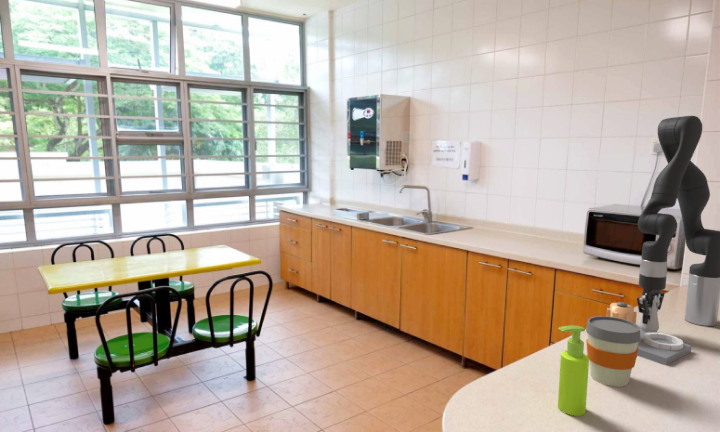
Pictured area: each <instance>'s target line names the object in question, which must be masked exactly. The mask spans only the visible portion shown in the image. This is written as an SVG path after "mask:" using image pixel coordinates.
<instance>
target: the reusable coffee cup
mask: <svg viewBox="0 0 720 432" xmlns="http://www.w3.org/2000/svg"><path fill="white" fill-rule="evenodd" d="M585 332H586V333H587V338H586V340H585V342H586V353H587V354H586V355H587V356H588V357H589V371H590V373H589V374H590V377H591V379H593V380H594V381H596V382H598V383H599V384H602V385H605V384H606V386H610V387H616V388H617V387H619V388H620V387H626V386H627V385H629V382H630V379H631V374H632V370H633V368H635V365H636V363H637V362H636V361H637V358H638V355H637V354H638V348H637V346H638V342H639V341H640V339H641V337H640V327H639V326H638V323H636V324H635V323H633V322H631V321H628V320H624V319H620V318H615V317H608V316H607V315H606V316H605V315H598V316H597V315H596V316H591V317H589V318H588V319H587V322H586V328H585Z"/></svg>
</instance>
